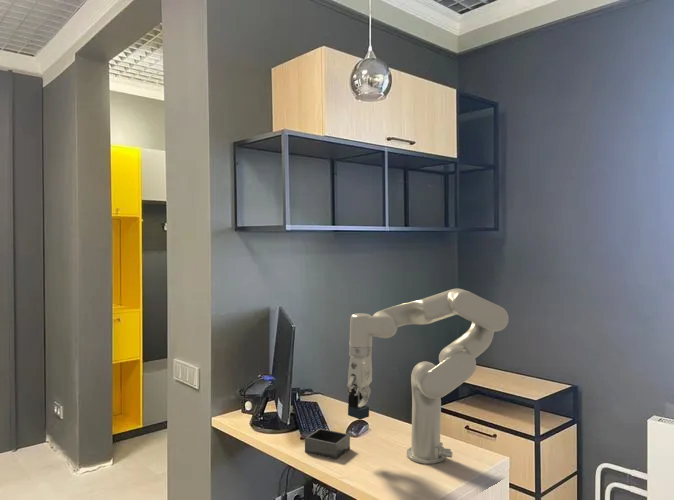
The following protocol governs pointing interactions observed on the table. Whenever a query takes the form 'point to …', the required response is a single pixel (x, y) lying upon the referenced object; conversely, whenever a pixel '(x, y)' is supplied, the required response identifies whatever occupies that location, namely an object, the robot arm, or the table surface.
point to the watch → (361, 404)
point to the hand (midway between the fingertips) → (358, 403)
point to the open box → (327, 443)
